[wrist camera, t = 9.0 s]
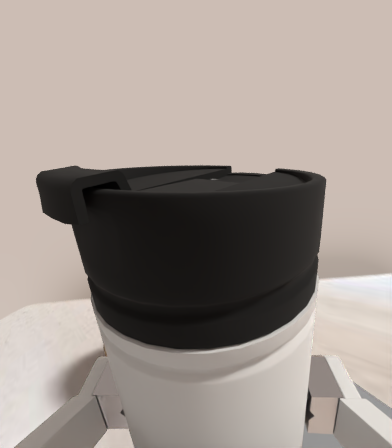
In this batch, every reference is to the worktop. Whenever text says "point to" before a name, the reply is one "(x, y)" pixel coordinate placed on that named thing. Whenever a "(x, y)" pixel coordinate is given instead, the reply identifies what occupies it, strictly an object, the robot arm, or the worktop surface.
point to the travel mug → (200, 295)
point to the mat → (326, 443)
